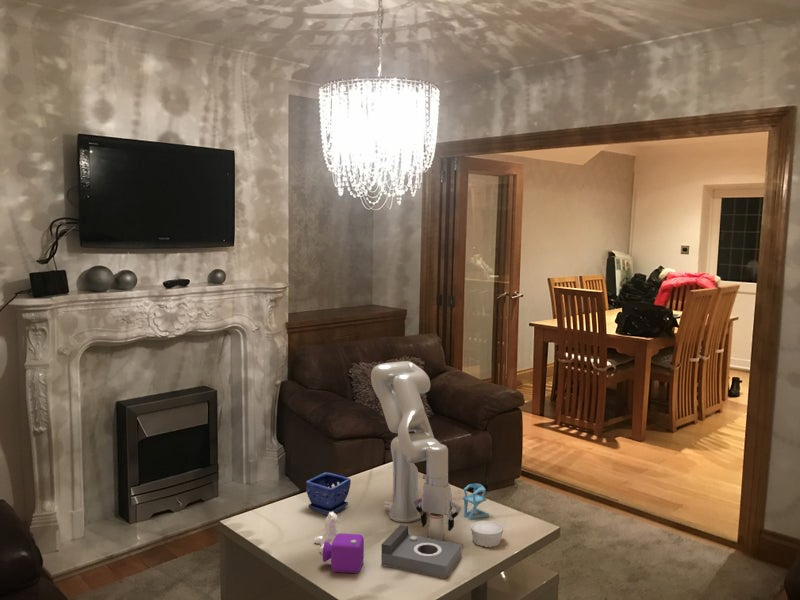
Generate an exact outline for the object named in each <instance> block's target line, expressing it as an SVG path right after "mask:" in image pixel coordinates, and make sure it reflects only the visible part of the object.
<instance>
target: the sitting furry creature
mask: <svg viewBox="0 0 800 600" xmlns="http://www.w3.org/2000/svg"><path fill="white" fill-rule="evenodd" d="M338 518H339V517H338V515H337V514H336V513H334V512H329V514H328V515H327V517H326V518H325V520H324V528H323V531H322V532H323V533H322V534H323V535H318V536H315V537H314V544H315V543H316V544H317V545H320V547H319V553H320V552H321V550H322V548H323V546H324V543H325V541H327V542H329V543H330V544H331V545H332V543H333V541H334V539H335V537H336V535H337V534H340V533H339V532H338V529H337V525H336V524H338Z"/></svg>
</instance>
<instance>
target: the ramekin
mask: <svg viewBox="0 0 800 600" xmlns="http://www.w3.org/2000/svg"><path fill="white" fill-rule="evenodd" d="M470 530H471V531H470V532H471V535H472V540H473V542H474V543H475V544H476V545H478V546H479V545H480V546H479V547H483V546H485V548H491V547H490V546H494V547H496V545H497V546H498V545H500V543H501V541H502V537H503V534H504V533H503V532H504V527H503V525H501V524H500V523H498V522H496V521H491V520H479V521H475V522H473V523H472V524H471V525H470ZM486 546H487V547H486Z"/></svg>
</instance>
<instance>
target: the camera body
mask: <svg viewBox="0 0 800 600" xmlns="http://www.w3.org/2000/svg"><path fill="white" fill-rule="evenodd" d="M380 555H381V558H380V559H381V564H380V565H381V566H385V567H389V568H394V569H399V570H404V571H409V572H414V573H417V574H423V575H427V576H430V577H431V576H432V577H436V578H441V579H445V580H446V579H447V578H448V577H449V575H450V573H451V572H452V570H453V569H454V568H455V566H456V564H457V563H458V561H459V560H460V558H461V557H462V544H460V543H457V542H456V543H455V542H450V541H444V540H442V541H440V540H435V539H430V538H429V537H424V536H420V535H413V534H409V525H406V524H399V525H398V526H397V527H396V528H395V529H394V530H393V532H392V533H391V534H390V535H389V536H387V538H386V539H385V540H383V542H382V543H381V554H380Z"/></svg>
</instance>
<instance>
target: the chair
mask: <svg viewBox="0 0 800 600" xmlns="http://www.w3.org/2000/svg"><path fill="white" fill-rule="evenodd" d="M470 488H473V492H472V493H471V494H469V495H468V493H467V490H468V489H470ZM486 490H487V489H486V488H485V486H484V485H482V484H481V483H470V484H468V485H466V487H464V488H463V492H464V496H462V500H463V503H464V504H463V506H464V507H463V518H467V517H468V520H469V519H470V520H475V519H483V518H487V517H489V515H490V514H489V513H488V512H486V511H483V510H481V509H479V508H478V506H479V505H480V504H482V503H483V502H486V501H487V497H485V493H486ZM481 492H482V494H481V495H479V493H481ZM469 503H470V504H471V505H473V507H472V508H471V509H469V511H468V506H469V505H468V504H469ZM475 511H476V512H478V513H479V514H474V513H475Z"/></svg>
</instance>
